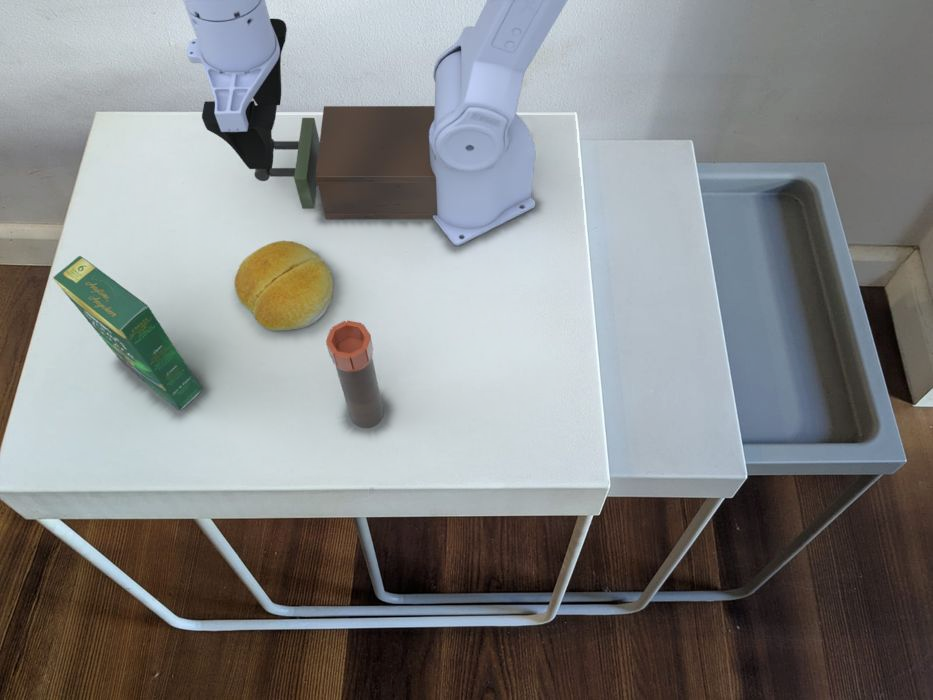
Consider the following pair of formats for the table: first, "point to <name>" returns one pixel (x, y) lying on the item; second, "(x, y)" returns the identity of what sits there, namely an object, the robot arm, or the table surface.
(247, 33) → the robot arm
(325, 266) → the bread roll
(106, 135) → the table surface
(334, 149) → the cabinet
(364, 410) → the post stand
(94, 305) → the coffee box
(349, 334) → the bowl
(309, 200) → the drawer
